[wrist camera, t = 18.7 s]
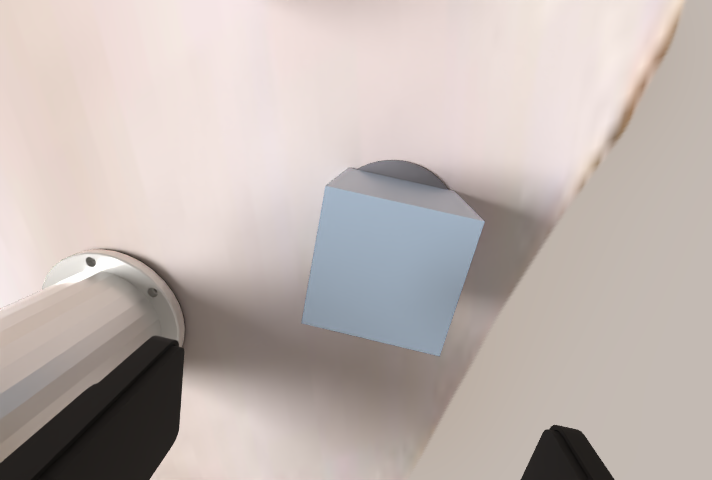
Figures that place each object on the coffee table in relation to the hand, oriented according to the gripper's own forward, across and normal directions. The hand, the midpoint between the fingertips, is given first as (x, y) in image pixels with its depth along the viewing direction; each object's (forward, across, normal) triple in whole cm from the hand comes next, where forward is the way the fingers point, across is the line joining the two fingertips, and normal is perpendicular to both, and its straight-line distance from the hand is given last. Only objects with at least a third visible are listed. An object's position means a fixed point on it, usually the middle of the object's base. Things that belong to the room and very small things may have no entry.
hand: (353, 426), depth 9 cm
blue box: (+18, -1, -1) cm, 18 cm away
